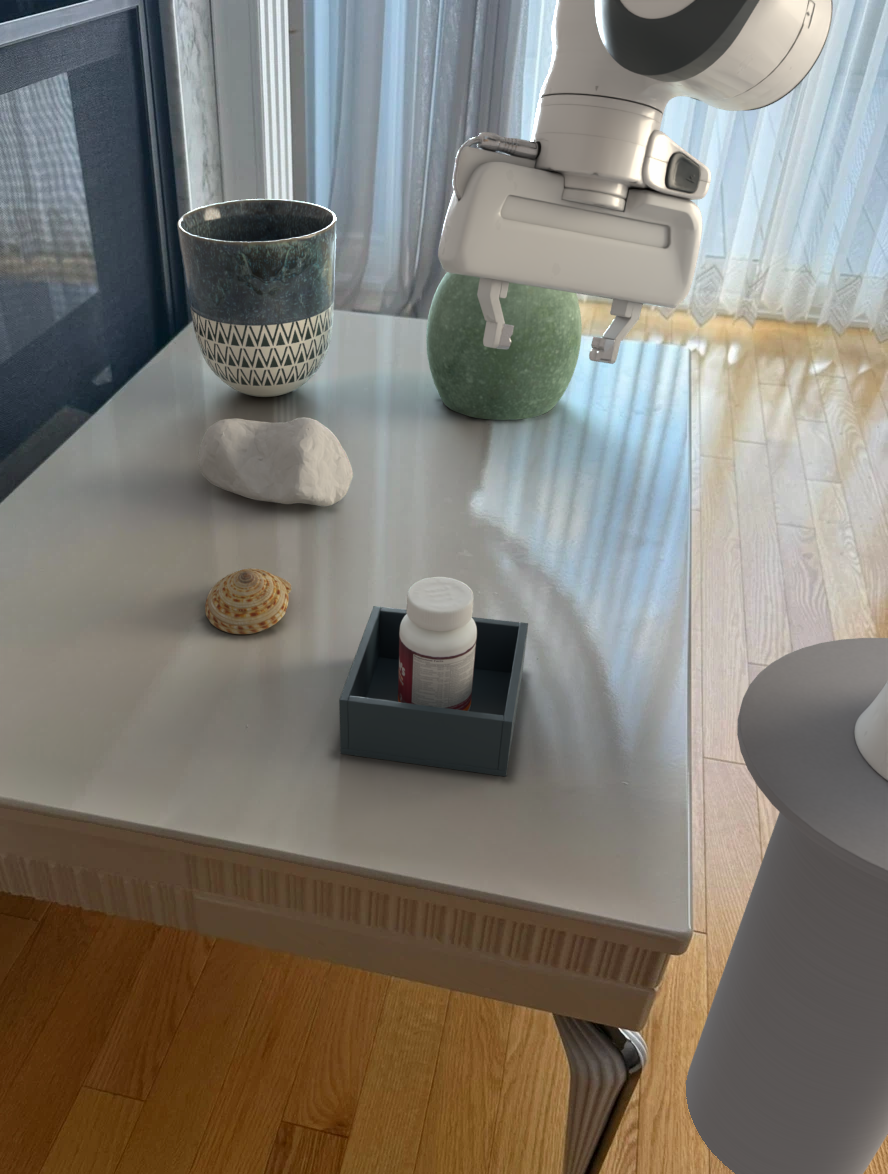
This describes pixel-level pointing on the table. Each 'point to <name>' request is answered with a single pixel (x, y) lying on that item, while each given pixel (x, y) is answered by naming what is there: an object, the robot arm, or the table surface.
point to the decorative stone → (276, 461)
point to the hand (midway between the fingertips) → (549, 355)
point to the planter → (261, 290)
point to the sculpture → (499, 376)
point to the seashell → (247, 601)
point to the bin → (431, 731)
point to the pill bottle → (437, 645)
